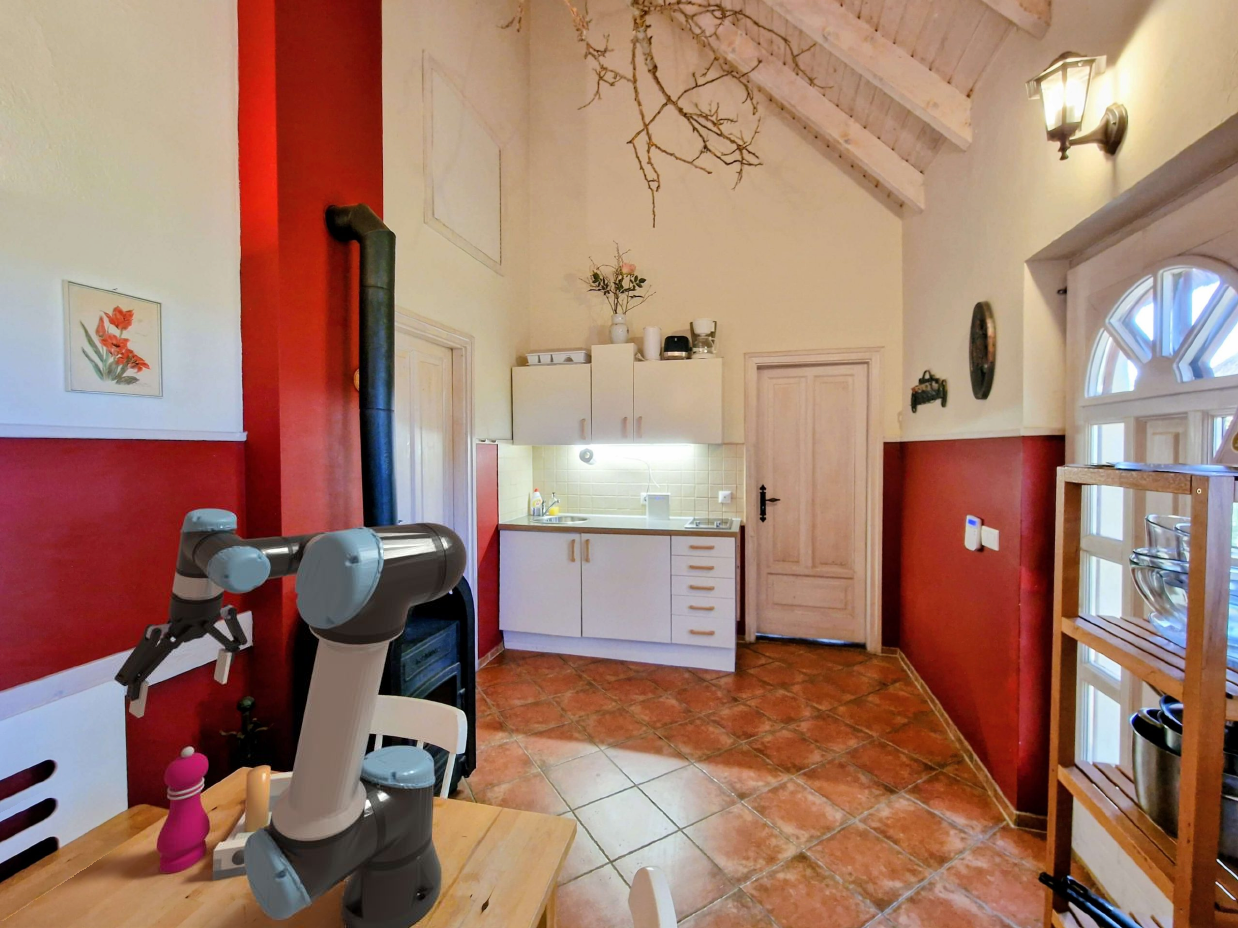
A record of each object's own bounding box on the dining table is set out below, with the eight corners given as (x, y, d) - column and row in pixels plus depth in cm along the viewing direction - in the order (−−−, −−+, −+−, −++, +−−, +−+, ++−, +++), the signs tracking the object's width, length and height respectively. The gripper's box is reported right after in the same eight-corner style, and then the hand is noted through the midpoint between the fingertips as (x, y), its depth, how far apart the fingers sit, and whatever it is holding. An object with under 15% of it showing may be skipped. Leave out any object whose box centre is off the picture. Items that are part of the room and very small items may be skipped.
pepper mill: (177, 879, 85) (182, 761, 85) (144, 871, 86) (149, 755, 87) (219, 848, 92) (223, 739, 92) (187, 841, 94) (192, 734, 94)
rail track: (265, 872, 87) (267, 843, 87) (211, 881, 85) (212, 851, 85) (307, 791, 109) (308, 768, 109) (265, 797, 107) (265, 773, 107)
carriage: (263, 849, 90) (266, 780, 90) (232, 854, 88) (235, 784, 89) (278, 823, 97) (280, 758, 97) (249, 827, 95) (251, 761, 95)
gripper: (254, 569, 105) (237, 662, 108) (98, 603, 82) (80, 720, 84) (278, 582, 103) (261, 676, 105) (125, 620, 79) (106, 740, 82)
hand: (180, 696), depth 95 cm, fingers open, 13 cm apart
